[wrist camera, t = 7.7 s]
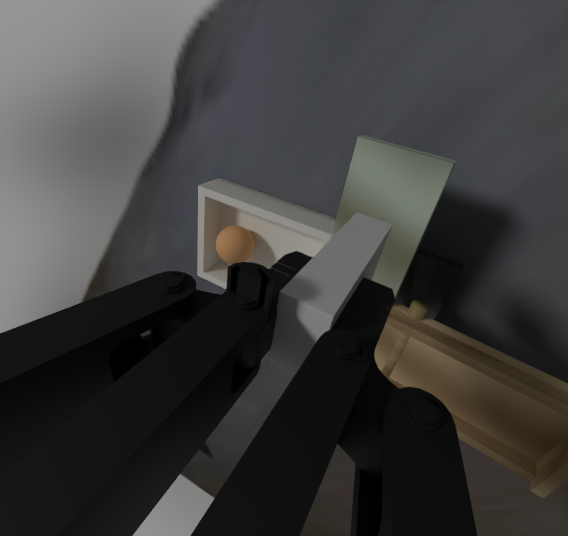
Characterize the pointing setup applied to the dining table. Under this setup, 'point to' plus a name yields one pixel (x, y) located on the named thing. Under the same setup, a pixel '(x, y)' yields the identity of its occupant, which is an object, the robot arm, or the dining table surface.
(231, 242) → the ball
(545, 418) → the lever
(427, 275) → the fulcrum
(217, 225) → the dish
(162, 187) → the dining table surface
